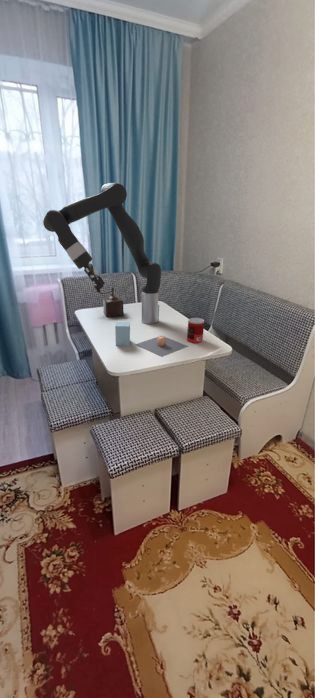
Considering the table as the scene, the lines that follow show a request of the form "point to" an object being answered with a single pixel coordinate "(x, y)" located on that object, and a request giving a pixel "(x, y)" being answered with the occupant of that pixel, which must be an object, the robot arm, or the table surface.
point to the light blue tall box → (122, 333)
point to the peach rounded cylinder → (161, 341)
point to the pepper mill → (111, 304)
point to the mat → (161, 351)
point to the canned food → (195, 330)
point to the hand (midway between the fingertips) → (102, 286)
